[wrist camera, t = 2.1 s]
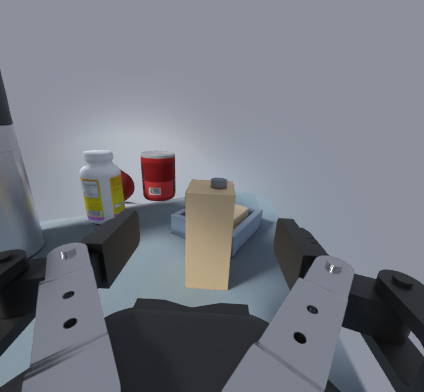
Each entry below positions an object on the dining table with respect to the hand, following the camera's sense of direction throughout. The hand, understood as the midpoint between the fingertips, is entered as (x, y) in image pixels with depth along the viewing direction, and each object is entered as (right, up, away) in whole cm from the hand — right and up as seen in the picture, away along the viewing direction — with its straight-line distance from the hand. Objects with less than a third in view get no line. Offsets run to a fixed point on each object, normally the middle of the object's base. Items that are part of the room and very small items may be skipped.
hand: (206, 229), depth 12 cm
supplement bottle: (-20, -3, +29) cm, 36 cm away
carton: (0, -8, +15) cm, 17 cm away
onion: (-21, 0, +37) cm, 43 cm away
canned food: (-13, +2, +42) cm, 44 cm away
